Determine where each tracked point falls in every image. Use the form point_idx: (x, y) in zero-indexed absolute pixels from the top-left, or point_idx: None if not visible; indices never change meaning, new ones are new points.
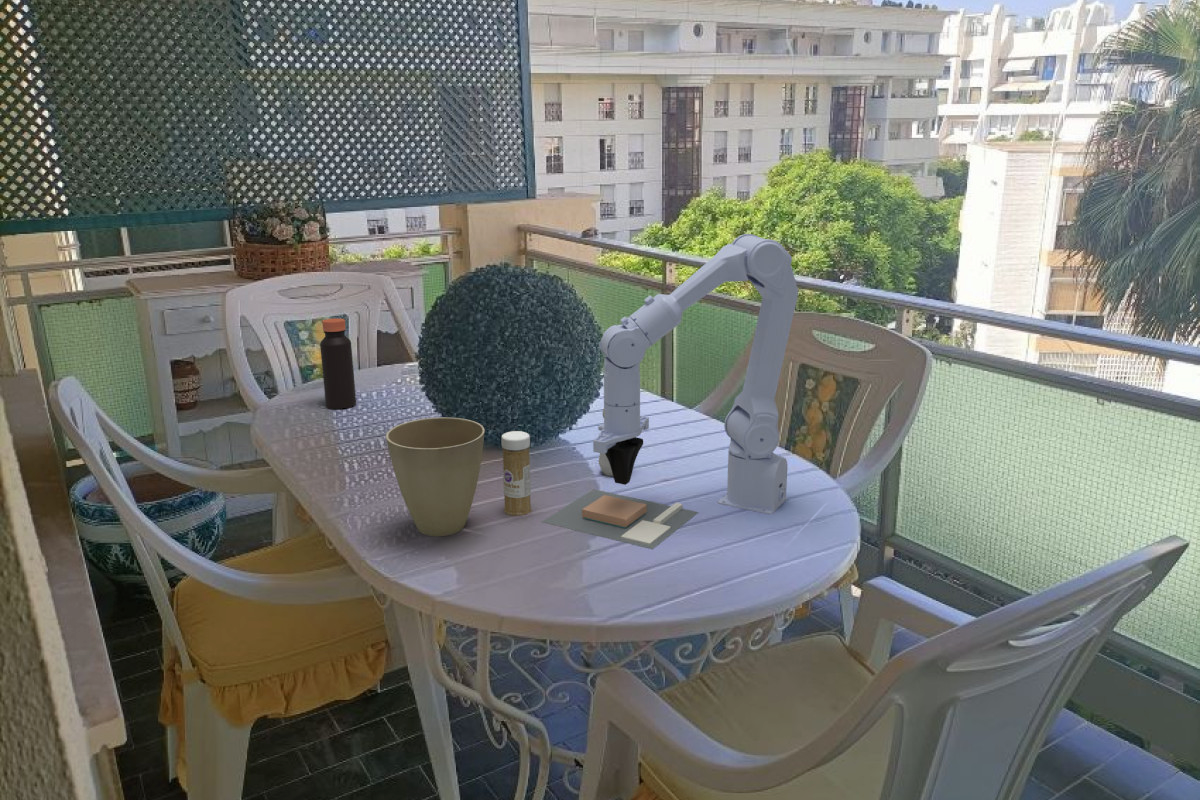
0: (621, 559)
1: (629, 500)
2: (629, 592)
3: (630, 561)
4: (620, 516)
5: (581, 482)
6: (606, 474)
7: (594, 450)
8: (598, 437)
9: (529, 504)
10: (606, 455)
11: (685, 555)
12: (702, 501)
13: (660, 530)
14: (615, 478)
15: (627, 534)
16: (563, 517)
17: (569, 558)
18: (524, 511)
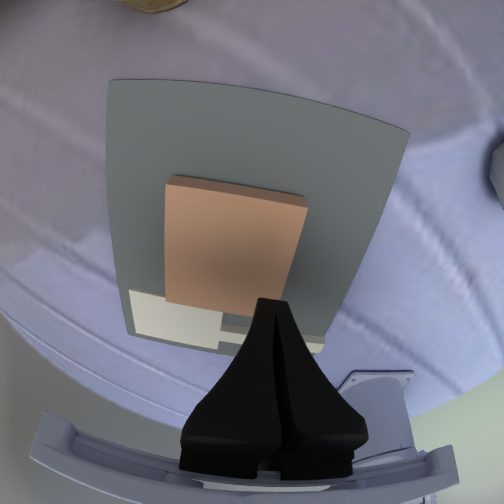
0: (80, 298)
1: (345, 249)
2: (36, 319)
3: (85, 309)
4: (174, 289)
5: (458, 83)
6: (496, 153)
7: (44, 418)
8: (71, 477)
9: (152, 4)
10: (220, 380)
11: (149, 362)
12: (368, 352)
13: (192, 339)
14: (255, 312)
15: (142, 298)
16: (159, 119)
17: (32, 225)
18: (134, 7)
